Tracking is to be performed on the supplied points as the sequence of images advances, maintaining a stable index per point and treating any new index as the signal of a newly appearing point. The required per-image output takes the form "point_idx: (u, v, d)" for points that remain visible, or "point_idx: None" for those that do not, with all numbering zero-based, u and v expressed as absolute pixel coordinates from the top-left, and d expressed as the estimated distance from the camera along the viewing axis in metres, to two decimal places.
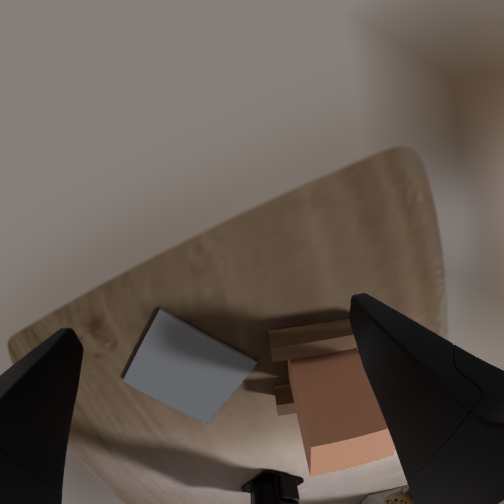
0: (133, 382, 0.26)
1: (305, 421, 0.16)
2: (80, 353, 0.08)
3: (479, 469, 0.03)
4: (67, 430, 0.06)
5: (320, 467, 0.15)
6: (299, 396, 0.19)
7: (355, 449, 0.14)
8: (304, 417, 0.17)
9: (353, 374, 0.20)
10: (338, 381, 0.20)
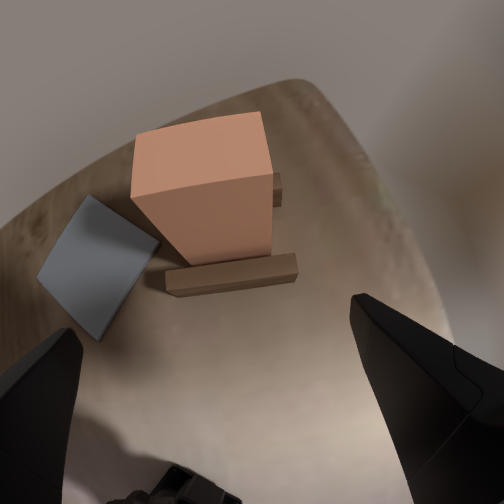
0: (44, 278, 0.23)
1: None
2: (80, 353, 0.08)
3: (479, 469, 0.03)
4: (67, 429, 0.06)
5: (146, 175, 0.12)
6: None
7: (193, 143, 0.12)
8: None
9: None
10: None
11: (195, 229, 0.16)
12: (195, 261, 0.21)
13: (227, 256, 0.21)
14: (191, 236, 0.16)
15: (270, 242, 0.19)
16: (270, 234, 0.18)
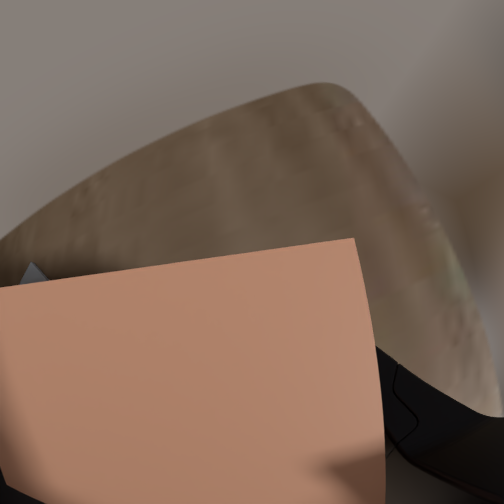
0: None
1: None
2: None
3: None
4: None
5: (13, 447, 0.03)
6: None
7: (104, 385, 0.03)
8: None
9: None
10: None
11: None
12: None
13: None
14: None
15: None
16: None
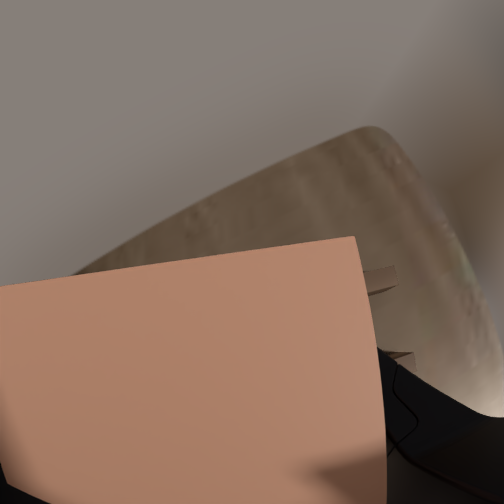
0: None
1: None
2: None
3: None
4: None
5: (14, 445, 0.03)
6: None
7: (106, 382, 0.03)
8: None
9: None
10: None
11: None
12: None
13: None
14: None
15: None
16: None
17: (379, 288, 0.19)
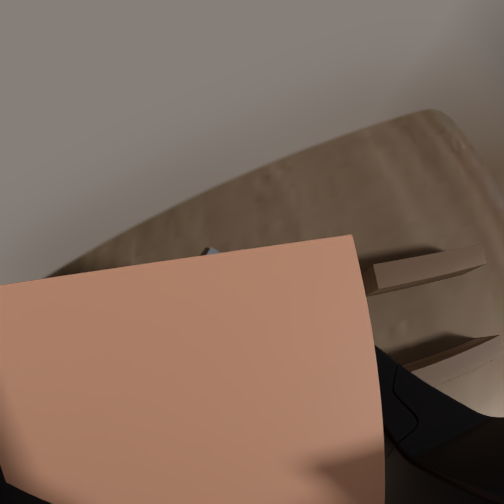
0: None
1: None
2: None
3: None
4: None
5: (13, 444, 0.03)
6: None
7: (104, 381, 0.03)
8: None
9: None
10: None
11: None
12: None
13: None
14: None
15: None
16: None
17: (472, 266, 0.15)
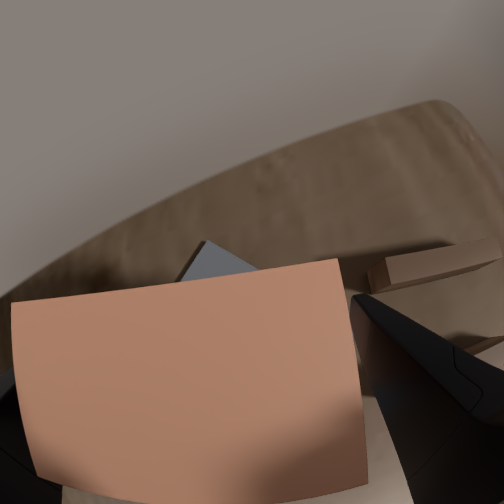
0: None
1: None
2: None
3: (478, 469, 0.03)
4: None
5: (47, 440, 0.03)
6: None
7: (138, 380, 0.04)
8: None
9: None
10: None
11: None
12: None
13: None
14: None
15: None
16: None
17: (487, 260, 0.13)
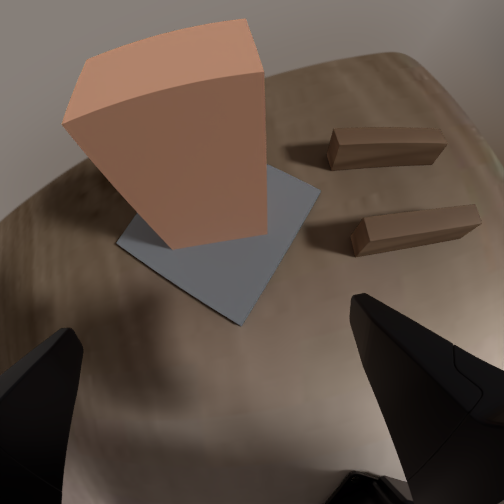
0: (131, 242, 0.18)
1: None
2: (80, 353, 0.08)
3: (478, 469, 0.03)
4: (68, 430, 0.06)
5: (85, 96, 0.07)
6: None
7: (154, 53, 0.07)
8: None
9: None
10: None
11: (160, 180, 0.11)
12: (169, 237, 0.16)
13: (210, 229, 0.16)
14: (157, 193, 0.12)
15: (265, 207, 0.14)
16: (265, 192, 0.13)
17: (432, 142, 0.17)
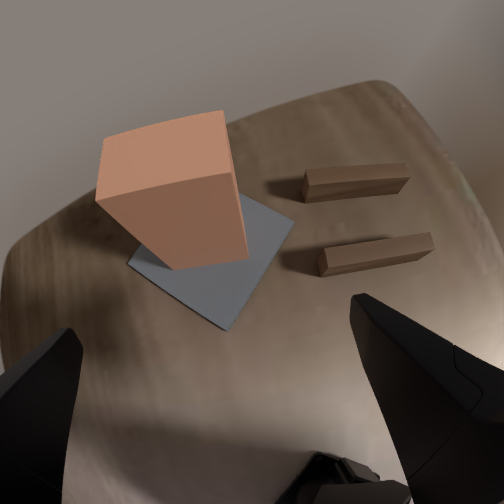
0: (140, 263, 0.23)
1: None
2: (80, 353, 0.08)
3: (479, 469, 0.03)
4: (67, 429, 0.06)
5: (110, 178, 0.12)
6: None
7: (156, 144, 0.12)
8: None
9: None
10: None
11: (164, 230, 0.15)
12: (171, 262, 0.21)
13: (203, 257, 0.21)
14: (162, 237, 0.16)
15: (244, 242, 0.19)
16: (242, 234, 0.18)
17: (394, 177, 0.21)
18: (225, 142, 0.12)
